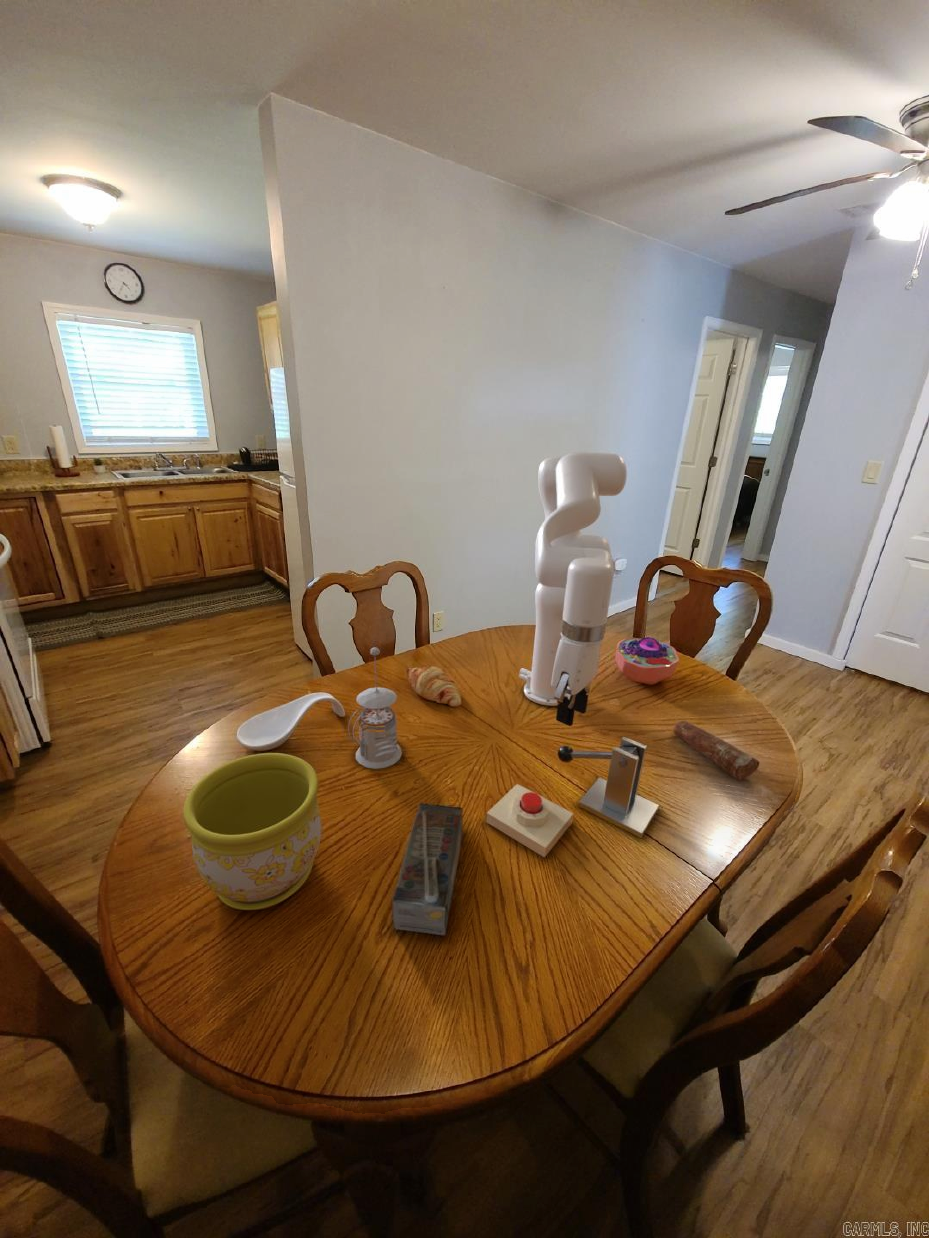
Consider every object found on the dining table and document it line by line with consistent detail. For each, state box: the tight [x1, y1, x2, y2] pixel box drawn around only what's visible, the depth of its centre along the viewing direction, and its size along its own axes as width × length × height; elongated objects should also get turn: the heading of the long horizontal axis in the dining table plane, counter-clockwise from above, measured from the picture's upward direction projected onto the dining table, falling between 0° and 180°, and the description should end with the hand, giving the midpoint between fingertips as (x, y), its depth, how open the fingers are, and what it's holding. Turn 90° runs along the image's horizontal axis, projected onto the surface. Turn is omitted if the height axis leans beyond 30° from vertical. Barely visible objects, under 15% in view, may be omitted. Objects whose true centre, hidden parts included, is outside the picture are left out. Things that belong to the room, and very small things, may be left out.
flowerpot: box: [182, 752, 323, 911], centre depth 75 cm, size 18×18×16 cm
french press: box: [347, 646, 403, 770], centre depth 101 cm, size 10×12×25 cm
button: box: [521, 791, 542, 814], centre depth 88 cm, size 4×4×2 cm
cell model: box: [614, 636, 680, 686], centre depth 140 cm, size 17×20×11 cm
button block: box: [485, 783, 574, 858], centre depth 89 cm, size 12×10×4 cm
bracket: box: [578, 736, 660, 839], centre depth 91 cm, size 12×9×14 cm
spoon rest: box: [236, 692, 346, 752], centre depth 111 cm, size 24×12×7 cm, turn 134°
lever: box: [557, 745, 640, 764], centre depth 94 cm, size 16×3×3 cm, turn 51°
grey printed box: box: [391, 802, 463, 936], centre depth 77 cm, size 8×19×7 cm, turn 173°
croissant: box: [406, 665, 462, 707], centre depth 129 cm, size 21×10×8 cm, turn 44°
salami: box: [673, 720, 760, 781], centre depth 109 cm, size 6×19×6 cm, turn 23°
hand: (571, 715), depth 95 cm, fingers open, 4 cm apart
